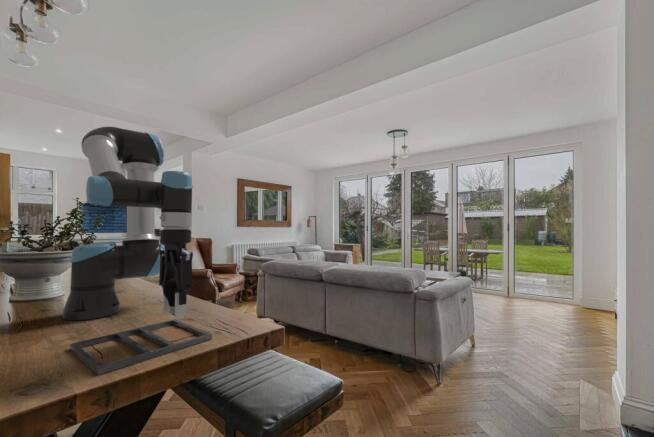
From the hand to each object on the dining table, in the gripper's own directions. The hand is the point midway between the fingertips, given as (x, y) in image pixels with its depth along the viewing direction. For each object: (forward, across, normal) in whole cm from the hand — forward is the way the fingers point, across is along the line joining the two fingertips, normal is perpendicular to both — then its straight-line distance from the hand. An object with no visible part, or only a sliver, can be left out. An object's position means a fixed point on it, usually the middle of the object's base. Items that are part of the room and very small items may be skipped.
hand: (174, 314), depth 82 cm
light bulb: (0, 0, 0) cm, 0 cm away
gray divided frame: (+6, 0, -7) cm, 9 cm away
